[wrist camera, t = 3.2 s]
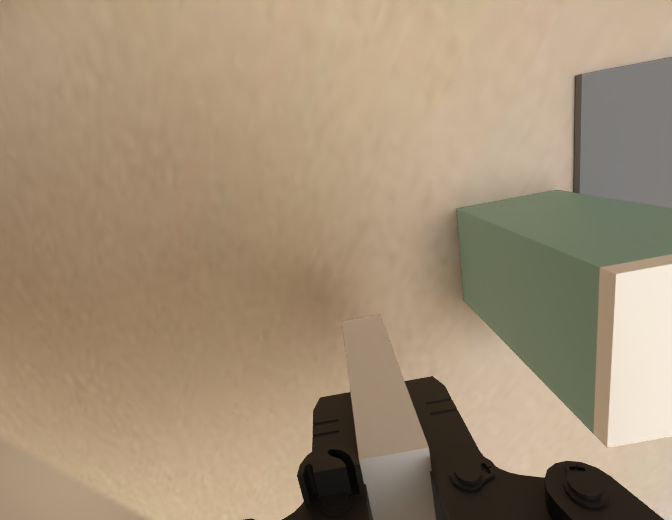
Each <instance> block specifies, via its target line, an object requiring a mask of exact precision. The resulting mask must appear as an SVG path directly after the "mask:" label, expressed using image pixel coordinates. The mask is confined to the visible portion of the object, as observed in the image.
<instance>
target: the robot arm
mask: <svg viewBox="0 0 672 520" xmlns="http://www.w3.org/2000/svg"><path fill="white" fill-rule="evenodd" d="M342 329H343V337H344V345H345V353H346V360H347V368H348V376H349V384H350V392H349V393H343V394H337V395H332V396H326V397H321V398H320V399H319V401H318V403H317V404H316V406H315V408H314V410H313V442H312V452H311V453H310V454H308V455H307V456H306V458H305V459H304V460H303V462H302V463H301V464H300V467H299V470H298V474H297V477H298V481H299V485H300V488H301V492H302V496H303V499H304V502H303V503H302V505H301V506H300V507H299V508H298V509H297V510H296V511H295V512H294V513H292V514H291V515H289V516H288V517H286V518H284V519H282V520H664V519H663V518H661V517H660V516H659V515H658V514H656V513H655V512H654V511H653V510H652V509H650V508H649V507H648V506H647V505H645V504H644V503H643V502H642V501H640V500H639V499H638V498H637V497H635V496H634V495H633V494H632V493H631V492H629V491H628V490H627V489H626V488H624V487H623V486H622V485H621V484H619V483H618V482H617V481H616V480H614V479H613V478H612V477H611V476H609V475H607V474H606V473H604V472H603V471H601V470H600V469H598V468H596V467H593V466H590V465H588V464H585V463H582V462H574V461H564V462H560V463H555V464H554V465H553V466H551V467H550V468H549V469H548V470H547V473H546V476H545V478H542V477H533V476H524V475H518V474H513V473H509V472H506V471H504V470H501V469H499V468H498V467H496V466H495V465H494V464H493V463H492V461H490V460H489V459H487V458H485V457H484V456H483V455H482V454H481V452H480V451H479V449H478V447H477V445H476V443H475V442H474V440H473V438H472V436H471V434H470V432H469V430H468V429H467V427H466V425H465V423H464V421H463V419H462V417H461V415H460V414H459V412H458V411H457V408H456V406H455V404H454V402H453V400H451V397H450V395H449V393H448V391H447V389H446V387H445V386H444V385H443V384H442V383H441V382H439V381H438V380H437V379H435V378H434V377H433V376H431V377H426V378H420V379H415V380H409V381H404V379H403V376H402V374H401V371H400V368H399V365H398V363H397V360H396V357H395V354H394V352H393V349H392V346H391V344H390V341H389V338H388V335H387V333H386V330H385V327H384V325H383V322H382V319H381V316H380V314H378V315H373V316H367V317H362V318H356V319H351V320H345V321H342ZM245 520H254V519H245Z"/></svg>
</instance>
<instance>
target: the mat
mask: <svg viewBox="0 0 672 520" xmlns="http://www.w3.org/2000/svg"><path fill="white" fill-rule="evenodd" d="M574 193H579V194H586V195H592V196H598V197H604V198H611V199H617V200H623V201H630V202H636V203H642V204H649V205H655V206H661V207H668V208H672V57H670V58H664V59H659V60H654V61H648V62H643V63H638V64H633V65H627V66H622V67H617V68H611V69H606V70H601V71H595V72H590V73H585V74H580V75H577V76H576V81H575V150H574Z"/></svg>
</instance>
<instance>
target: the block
mask: <svg viewBox="0 0 672 520" xmlns="http://www.w3.org/2000/svg"><path fill="white" fill-rule="evenodd" d="M456 210H457V222H458V235H459V247H460V259H461V272H462V284H463V296H464V301H465V302H466V303H467V304H468V305H469V306H470V307H471V308H472V309H473V310H474V312H475V313H476V314H477V315H478V316H479V317H480V318H481V319H482V320H483V321H484V322H485V323H486V324H487V325H488V326H489V327H490V328H491V329H492V330H493V331H494V332H495V333H496V334H497V335H498V336H499V337H500V338H501V339H502V340H503V341H504V342H505V343H506V344H507V345H508V346H509V348H510V349H511V350H512V351H513V352H514V353H515V354H516V355H517V356H518V357H519V358H520V359H521V360H522V361H523V362H524V363H525V364H526V365H527V366H528V367H529V368H530V369H531V370H532V371H533V372H534V373H535V374H536V375H537V376H538V377H539V378H540V379H541V380H542V381H543V382H544V383H545V385H546V386H547V387H548V388H549V389H550V390H551V391H552V392H553V393H554V394H555V395H556V396H557V397H558V398H559V399H560V400H561V401H562V402H563V403H564V404H565V405H566V406H567V407H568V408H569V409H570V410H571V411H572V412H573V413H574V414H575V415H576V416H577V417H578V418H579V419H580V420H581V422H582V423H583V424H584V425H585V426H586V427H587V428H588V429H589V430H590V431H591V432H592V433H593V434H594V435H595V436H596V437H597V438H598V439H599V440H600V441H601V442H602V443H603V444H604V445H605V446H606V447H607V448H609V447H615V446H620V445H626V444H631V443H637V442H643V441H648V440H654V439H659V438H665V437H671V436H672V208H668V207H661V206H655V205H649V204H642V203H636V202H630V201H623V200H617V199H611V198H604V197H598V196H592V195H586V194H579V193H573V192H567V191H560V190H554V191H548V192H543V193H537V194H532V195H527V196H521V197H516V198H510V199H505V200H500V201H494V202H489V203H483V204H478V205H473V206H467V207H462V208H456Z"/></svg>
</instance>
